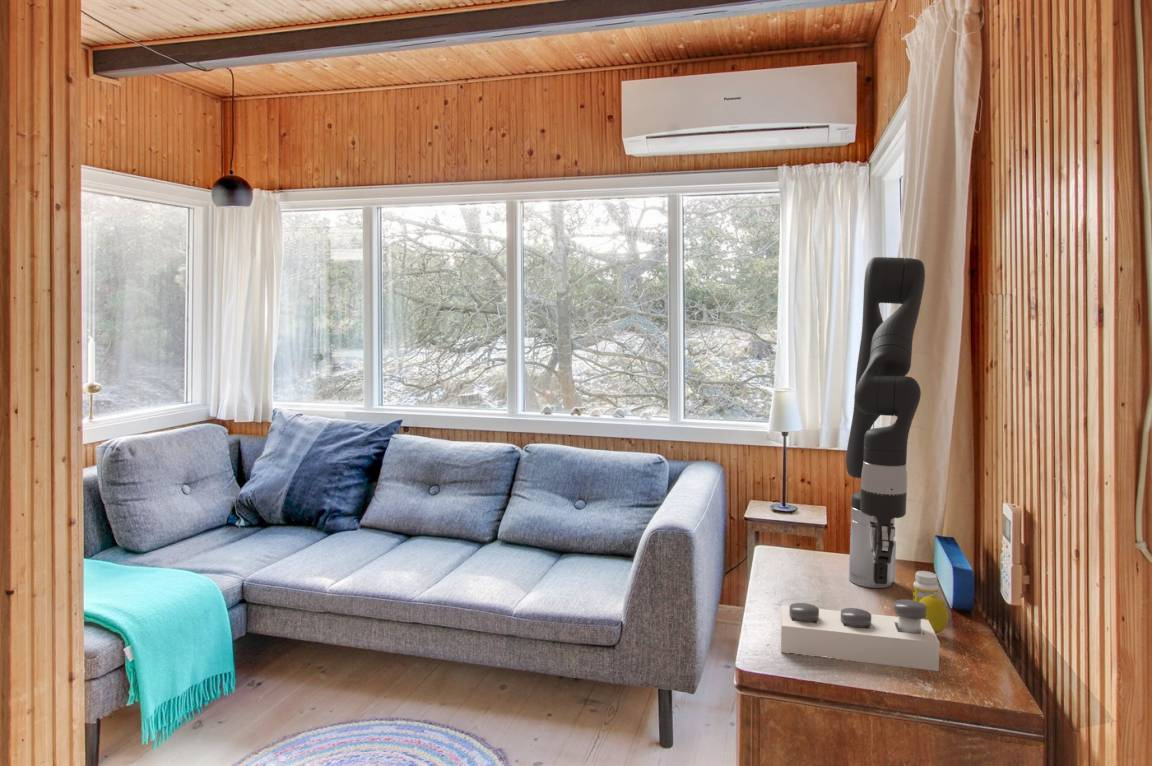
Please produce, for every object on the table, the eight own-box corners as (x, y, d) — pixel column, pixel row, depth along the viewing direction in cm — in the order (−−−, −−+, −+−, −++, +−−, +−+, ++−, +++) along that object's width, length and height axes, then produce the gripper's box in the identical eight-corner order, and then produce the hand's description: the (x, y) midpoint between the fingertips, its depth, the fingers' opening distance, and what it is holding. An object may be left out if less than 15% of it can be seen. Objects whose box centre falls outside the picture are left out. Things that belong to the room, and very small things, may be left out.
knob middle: (841, 647, 131) (842, 617, 131) (838, 635, 136) (839, 606, 136) (872, 650, 130) (873, 620, 129) (868, 638, 135) (869, 609, 134)
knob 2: (895, 639, 129) (896, 608, 128) (891, 627, 134) (892, 598, 133) (927, 642, 127) (929, 612, 127) (922, 630, 132) (923, 601, 132)
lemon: (929, 643, 136) (931, 601, 135) (908, 631, 141) (910, 590, 140) (954, 640, 137) (956, 598, 137) (932, 628, 143) (934, 588, 142)
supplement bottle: (915, 607, 153) (917, 568, 152) (940, 613, 150) (942, 573, 149) (909, 614, 149) (910, 574, 148) (934, 620, 146) (936, 579, 145)
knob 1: (788, 641, 134) (789, 612, 133) (788, 629, 139) (789, 601, 138) (818, 644, 132) (819, 615, 132) (817, 632, 137) (818, 604, 137)
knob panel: (780, 652, 132) (781, 625, 131) (780, 630, 141) (781, 605, 141) (938, 671, 125) (939, 642, 125) (926, 646, 135) (928, 619, 134)
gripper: (912, 497, 122) (907, 598, 124) (901, 481, 135) (897, 572, 136) (864, 494, 124) (860, 593, 126) (858, 478, 137) (854, 568, 139)
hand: (879, 582), depth 131 cm, fingers closed
